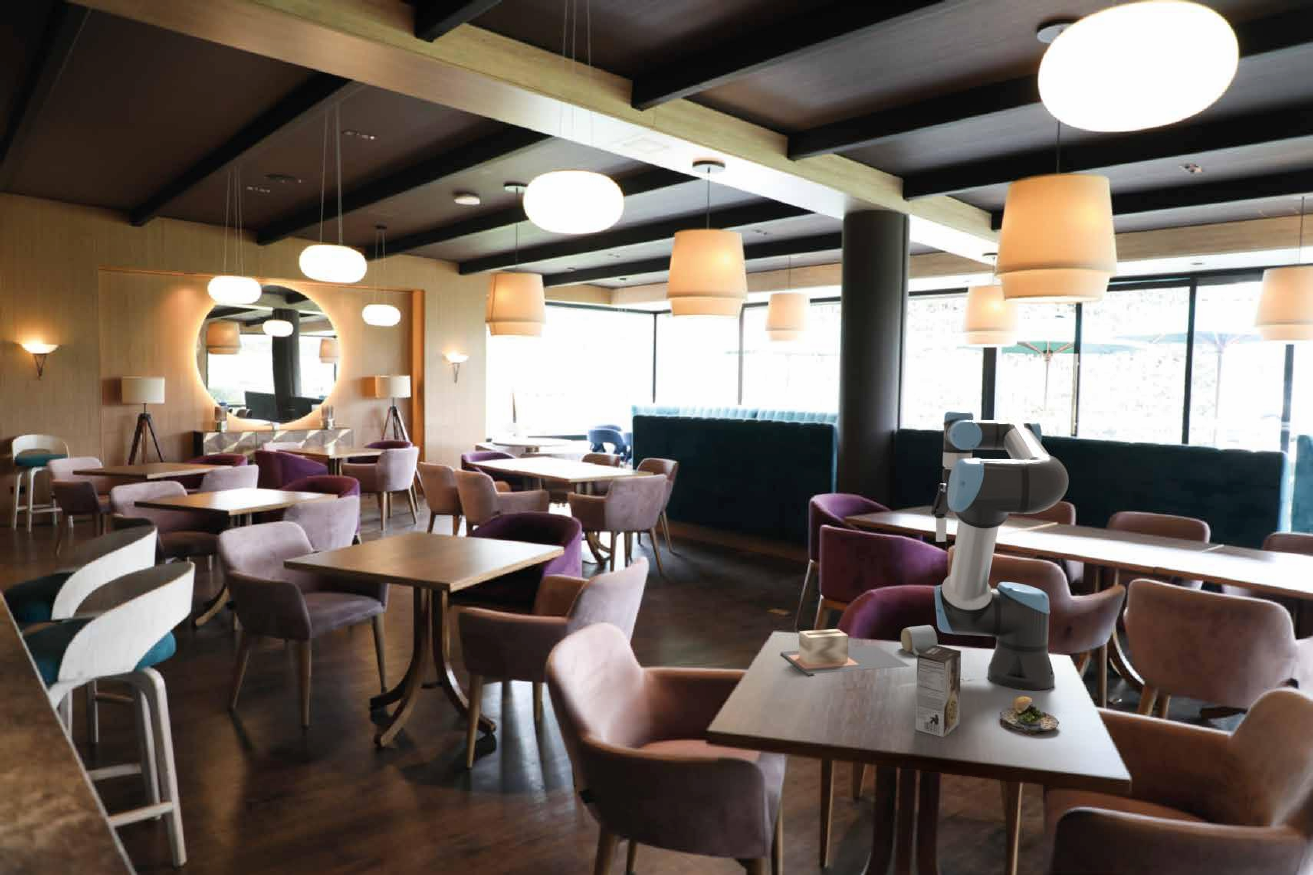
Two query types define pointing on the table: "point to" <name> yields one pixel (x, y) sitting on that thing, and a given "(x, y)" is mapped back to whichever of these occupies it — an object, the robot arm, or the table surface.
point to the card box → (823, 646)
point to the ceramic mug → (918, 638)
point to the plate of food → (1026, 718)
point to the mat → (849, 661)
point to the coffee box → (938, 690)
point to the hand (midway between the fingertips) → (955, 545)
